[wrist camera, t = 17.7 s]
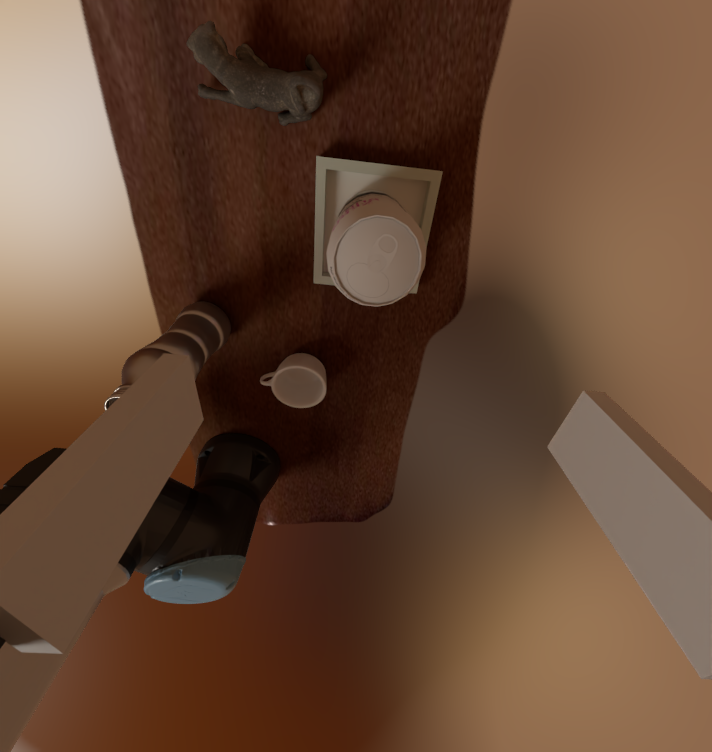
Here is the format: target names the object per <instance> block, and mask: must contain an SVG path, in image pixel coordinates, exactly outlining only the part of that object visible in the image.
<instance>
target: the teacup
mask: <svg viewBox="0 0 712 752" xmlns="http://www.w3.org/2000/svg"><path fill="white" fill-rule="evenodd" d="M267 377H273V378H272V379H271V380H269V381H266V382H265V381H263V380H264V379H265V378H267ZM260 383H261V384H262V385H265V386H271V388H272V391H273V393H274V395H275V396H276V398H277V399H278V400H280V401H281V402H282V403H284V404H286V405H288V406H291V407H295V408H308V407H312V406H314V405H316V404H318V403H320V402H321V401H322V400H323V398H324V397H325V394H326V371H325V368H324V366H323V364H322V363H321V362H320V361H319V360H318V359H317V358H316V357H314V356H312V355H310V354H306V353H296V354H293V355H290V356H288V357H287V358H286V359H285V360H284V361H283V362H282V363H281V364H280V365H279V367H278V368H277V370H276V371H275V372H271V373H268V374H265V375H263V376H261V378H260Z"/></svg>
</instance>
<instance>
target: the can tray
mask: <svg viewBox="0 0 712 752" xmlns="http://www.w3.org/2000/svg"><path fill="white" fill-rule="evenodd" d="M442 173H443V171H436V170H428V169H419V168H411V167H403V166H395V165H386V164H378V163H370V162H362V161H353V160H345V159H337V158H329V157H320V156H316V196H315V240H314V283H316V284H326V285H335V284H334V282H333V280H332V278H331V276H330V273H329V271H328V264H327V254H326V252H327V248H328V244H329V240H330V236H331V233H332V230H333V228H334V225H335V223H336V220H337V217H338V215H339V212H340V211H341V209H342V208H343V206H344V205H345V203H346V202H347V201H348V200H349V199H350V198H352V197H353V196H354V195H356V194H357V193H360V192H364V191H368V190H376V191H382V192H385V193H387V194H388V195H390V196H391V197H393V198H395V199H396V200H397V201H398V202H399V204H400V205H401V206H402V207H403V208H404V209H405V210H406V211H407V212H408V213H409V214H410V215H411V217H412V218H413V219H414V221H415V222H416V223H417V225H418V226H419V227H420V229H421V230H422V234H423V237H424V241H425V244H426V247H427V243H428V238H429V233H430V229H431V224H432V220H433V215H434V210H435V206H436V201H437V196H438V192H439V187H440V182H441V178H442ZM419 280H420V279H419ZM418 285H419V281H418V283H417V284H416V285H415V286H414V288H413V289H412V290H411V291H410V292H409V293H415V294H417V289H418Z"/></svg>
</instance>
